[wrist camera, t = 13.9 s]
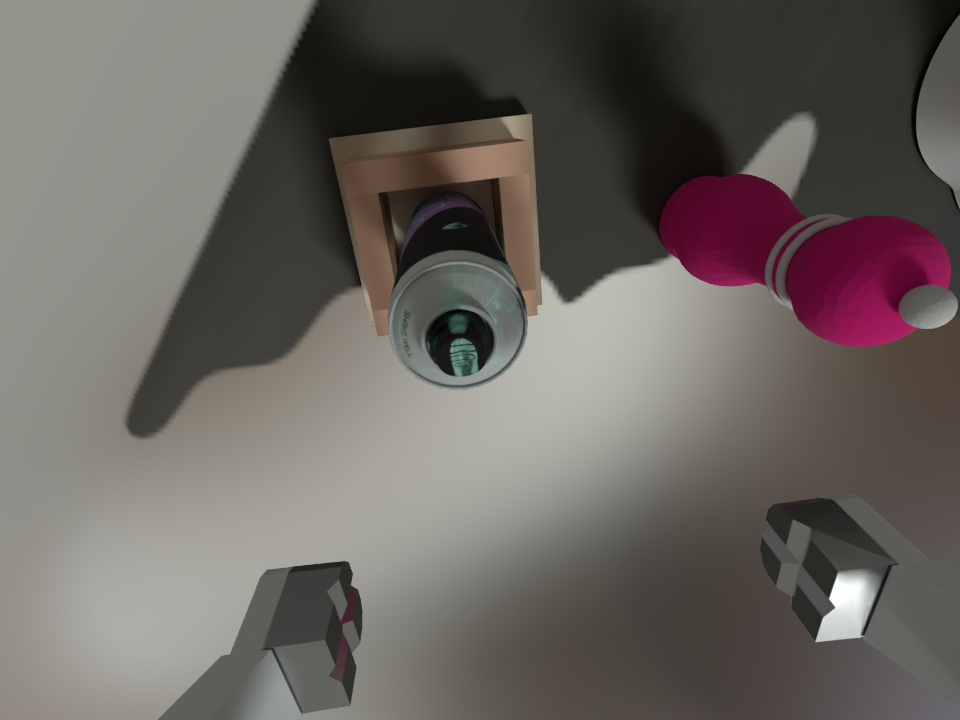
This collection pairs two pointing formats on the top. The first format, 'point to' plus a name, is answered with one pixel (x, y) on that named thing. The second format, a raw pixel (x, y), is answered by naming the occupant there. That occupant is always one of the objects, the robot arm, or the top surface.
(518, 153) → the can holder
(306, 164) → the top surface
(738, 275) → the pepper mill
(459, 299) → the spray can
